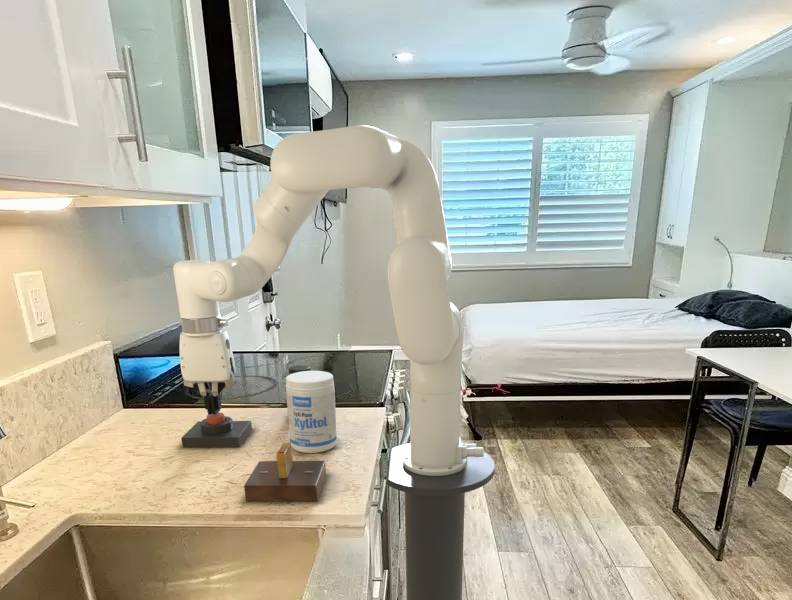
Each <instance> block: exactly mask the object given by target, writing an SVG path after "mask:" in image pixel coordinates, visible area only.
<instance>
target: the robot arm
mask: <svg viewBox="0 0 792 600" xmlns="http://www.w3.org/2000/svg"><path fill="white" fill-rule="evenodd" d="M269 165H270V171H271V175H272V178H271V180H270V181H269V182H268V184H267V186H266V187H265V189H264V190H263V191H262V193H261V194H260V195H259V197H258V198H257V200H256V201H255V202H254V205H253V207H252V208H253V209H252V212H253V215H254V217H255V218H256V219H255V220H256V227H255V231H254V233H253V235H252V237H251V238H250V240H249V241H248V243H247V244H246V246H245V247H244V248H243V250H242V251H241V252H240V254H239V255H238V256H237V257H231V258H226V259H219V260H214V261H209V260H206V259H186V260H179V261H177V262H175V263H174V264H173V268H172V269H173V278H174V285H175V291H176V298H177V305H178V310H179V311H178V312H179V316H180V317H179V318H180V323H181V332H180V333H179V349H178V350H179V364H180V371H181V376H182V379H183V385H184V386H185V387H188V388H194V389H195V390H196V391H197V392H199V393H200V396H201V397H203V402H204V409H205V410H207V415H211V414H213V415H216V414H217V413H220V411H221V409H222V407H223V406H222V399H221V392H222V391H223V390H224V389H226V388H230V387H233V386H235V385H236V384H237V380H236V377H235V375H236V373H237V372H236V363H235V357H234V354H233V353H234V352H233V349H232V344H231V340H230V338H229V335H228V331H227V330H226V329H223V327H228V325H229V321H228V319H227V318H223V317H222V315H221V312H220V304H219V303H230V302H233V301H237V300H240V299H243V298H247V297H249V296H253V295H254V294H256V293H258V292H259V291H260V290H261V289H263V287H265V285H266V284H267V283H268V281H269V280H270V279H271V277H273V275H274V274H275V272H276V271H277V270H278V269H279V267H280V265H281V264H282V262H283V261H284V259H285V257H286V255H287V253H288V251H289V249H290V246H291V244H292V242H293V238H294V237H295V235H296V234H297V233H298V231H299V230H300V229H301V228H302V226H303V224H305V222H306V221H307V220H308V218H309V217H310V215H312V214H313V212H314V210H315V209H316V208H317V207H318V205H319V204H320V202H321V201H322V200H323V199H324V197H325V196H326V195H327V194H328V192H329V191H335V190H336V191H337V190H345V189H357V188H370V189H383V190H385V191H387V193H388V195H389V197H390V201H391V212H392V220H393V226H394V229H395V236H396V245H397V246H396V247H395V248H394V250H393V251H392V252H391V255H390V257H389V259H388V263H387V285H388V291H389V296H390V297H389V298H390V303H391V307H392V313H393V314H392V315H393V320H394V325H395V330H396V335H397V339H398V340H397V341H398V343H399V346H400V348H401V350H402V352H403V354H404V355H405V356H406V357H407V358H408V359H409V426H410V427H409V435H410V436H409V438H410V439H409V440H410V441H409V443H410V451H409V452H407V453H406V454H405V455H404V456H403V465H404V467H405V468H406V469H408V470H409V471H411V472H413V473H416V474H420V475H425V476H445V475H451V474H455V473H457V472H460V471H461V470H463V469H464V468H465V467H466V465H467V457H483V456H484V452H485V449H484V446H483V447H482V446H477V444H476V443H464V442H462V440H461V435H460V433H461V432H460V431H461V429H460V428H461V390H462V389H461V388H462V363H463V362H462V361H463V349H464V347H463V346H464V335H465V334H464V333H465V331H464V322H463V316H462V314H461V312H460V310H459V309H458V308H457V306H455V305H454V303H452V302H451V296H450V289H449V282H448V280H449V279H450V277H451V274H452V270H453V259H452V256H451V251H450V245H449V238H448V232H447V225H446V219H445V218H446V217H445V213H444V209H443V203H442V202H443V201H442V196H441V195H442V194H441V191H440V184H439V180H438V176H437V173H436V171H435V167H434V166H433V163H432V162H431V160H430V159H429V156H428V155H427V154H425V152H424V151H422V150H421V148H419V147H418V146H417V145H415V144H414V143H412V142H410V141H408V140H406V139H404V138H401V137H399V136H395V135H394V134H390V133H389V132H387V131H384V130H381V129H379V128H377V127H375V126H370V125H349V126H344V127H337V128H330V129H323V130H314V131H306V132H298V133H292V134H290V135H287V136H285V137H283V138H282V139H281V140H279V142H278V143H277V144H276V145H275V146H274V148H273V150H272V152H271V156H270V163H269ZM210 383H211V386H210Z"/></svg>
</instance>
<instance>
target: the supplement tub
mask: <svg viewBox="0 0 792 600" xmlns="http://www.w3.org/2000/svg"><path fill="white" fill-rule="evenodd" d="M285 380H286V381H285V396H286V405H287V406H286V408H287V420H288V433H289V443H291V449H293V450H295V451H297V452H299V453H305V454H319V453H323V452H326V451H329V450H331V449H333V448H334V447H335V446H336V445H337V442H338V436H337V412H336V409H337V408H336V391H335V389H336V388H335V381H334V375H333V374H332V373H331V372H329V371H324V370H323V371H322V370H310V371H302V372H297V373H293V374H290V375H289V374H288V375H287V376H286V377H285Z"/></svg>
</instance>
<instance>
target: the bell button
mask: <svg viewBox="0 0 792 600" xmlns="http://www.w3.org/2000/svg"><path fill="white" fill-rule="evenodd" d="M224 416H225V414H224V413H223V412H218V413H217V414H216V415H213V414H211V415H208V414H207V415H206V418H207V423H208V424H210V425H215V424H221V423H224V422H225V417H224Z"/></svg>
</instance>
